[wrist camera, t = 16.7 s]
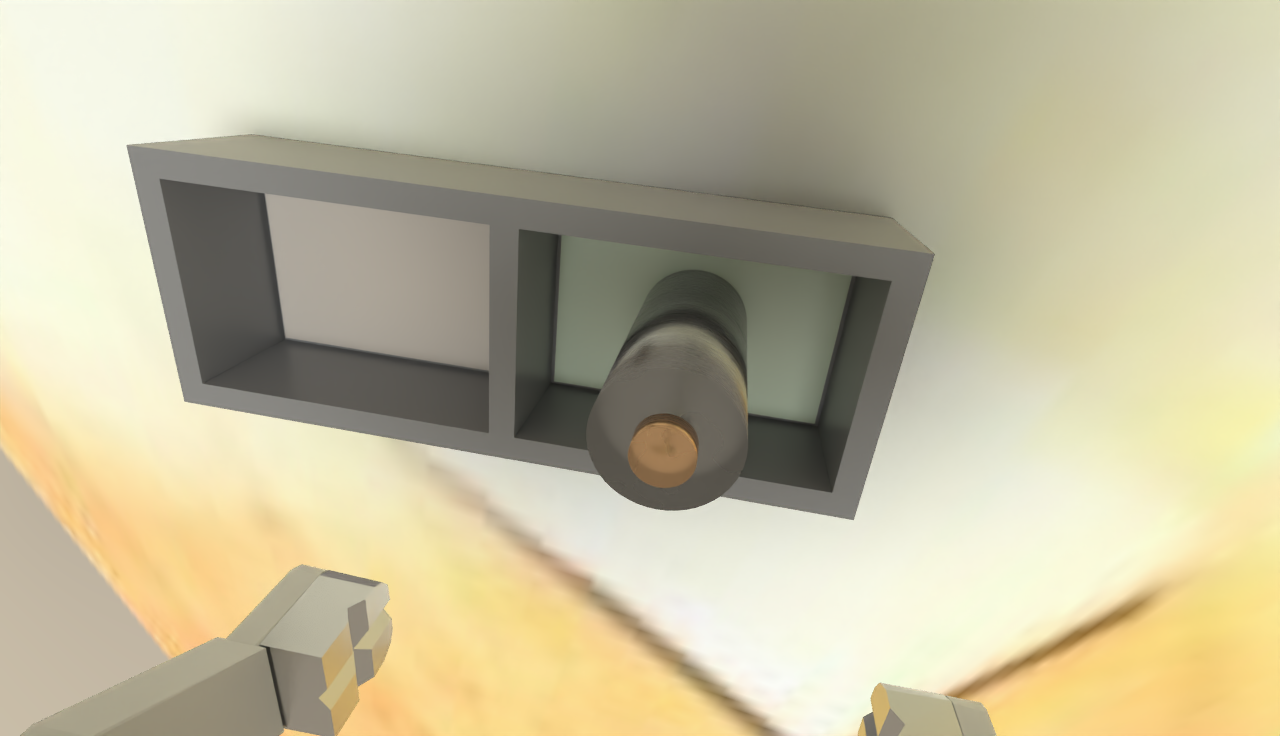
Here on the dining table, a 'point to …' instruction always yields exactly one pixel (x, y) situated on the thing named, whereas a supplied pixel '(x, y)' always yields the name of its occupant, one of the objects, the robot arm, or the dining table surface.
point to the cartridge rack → (513, 302)
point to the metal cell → (676, 397)
